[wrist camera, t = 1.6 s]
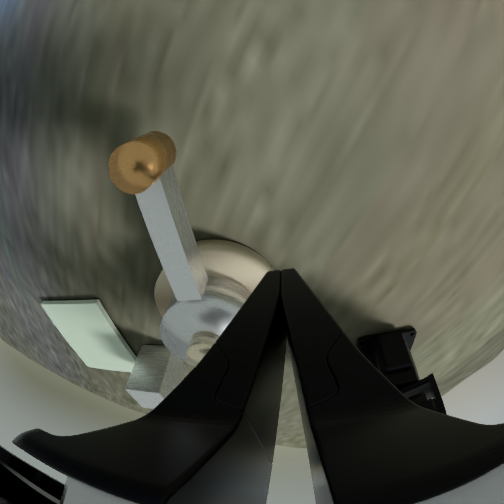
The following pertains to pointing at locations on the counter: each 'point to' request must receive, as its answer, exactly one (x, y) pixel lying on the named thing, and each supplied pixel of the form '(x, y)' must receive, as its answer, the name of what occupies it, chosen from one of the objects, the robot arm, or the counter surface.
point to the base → (220, 268)
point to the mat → (91, 334)
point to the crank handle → (175, 248)
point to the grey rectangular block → (154, 375)
